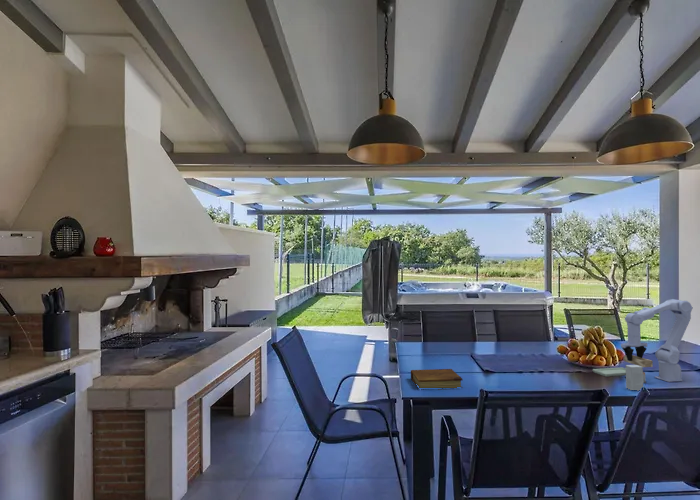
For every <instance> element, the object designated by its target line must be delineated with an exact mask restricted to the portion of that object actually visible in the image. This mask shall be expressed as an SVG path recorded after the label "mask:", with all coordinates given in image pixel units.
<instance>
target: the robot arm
mask: <svg viewBox="0 0 700 500" xmlns="http://www.w3.org/2000/svg"><path fill="white" fill-rule="evenodd" d="M692 310H693V305H692V304H691V302H690V301H688V300H681V299H675V298H670V299H667V300H665V301H664V302H662V303H660V304H657V305H655V306H653V307H651V308H650V307H643V308H642V309H640V310H636V311H634V312H629V313H627V314H626V316H625V317H624V320H625V322H626V326H627V342H623V343H620V347H621V348H622V351H623V352H624V353H625V355H626V356H627V360H629V361H632V355H634V353H633V352H634V350H635V352H636V353H635V354H636V356H638V357H641V358H644V357H643V356H644V354H645V353H646V352H647V348H648V343H647V342H641V325H642V324H643V323H644V322H645V321H647V320H650V319H652V318H654V317H655V315H656V314H659V313H662V312H666V311H670V312H671V313H672V314H673V315H674V316H675V317H676V318H675V320H674V323H673V325H672V327H671V330H670V332H669V334H668V336H667V339H666V341H665V343H664V344H661V345H660V346H659V348H658V349H657V350H656V351H655V353H654V354H655V358H656V359H657V361H658V376H657V375H656V376H654V378H656V379H659V380H661V381H665V382H668V383H669V382H670V383H671V382H683V381H684V379H682V368H681V365H680V364H679V362H680V355H681V352H680V350H679V346H680V344H681V341H682V339H683V337H684V335H685V333H686V330H687V328H688V327H689V323H690V322H691V319H692V317H691V316H692V315H691V313H692ZM634 348H635V349H634Z"/></svg>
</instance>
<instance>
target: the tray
mask: <svg viewBox="0 0 700 500" xmlns="http://www.w3.org/2000/svg"><path fill="white" fill-rule="evenodd" d="M592 372H593V373H595V374H597V375H600V376H602V377H605V378H607V377H609V378H610V377H622V376H624V377H626V367H608V368H592Z"/></svg>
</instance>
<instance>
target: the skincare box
mask: <svg viewBox="0 0 700 500" xmlns="http://www.w3.org/2000/svg"><path fill="white" fill-rule="evenodd" d="M625 368H626V375H625V387H626V389H627V388H628V389H627V390H629V389H630V390H629V391H631V390H637V391H636V392H638V391H639V390H640V389H641V388H642V387H643V388H644V383H643V372H644V371H643V370H644V369H643V368H644V367H641V366H639V365H635V364H625ZM639 392H640V391H639Z"/></svg>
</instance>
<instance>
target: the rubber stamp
mask: <svg viewBox="0 0 700 500" xmlns="http://www.w3.org/2000/svg"><path fill="white" fill-rule="evenodd" d="M646 383H647V381H646V372H645V371H643V384H646Z"/></svg>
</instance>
